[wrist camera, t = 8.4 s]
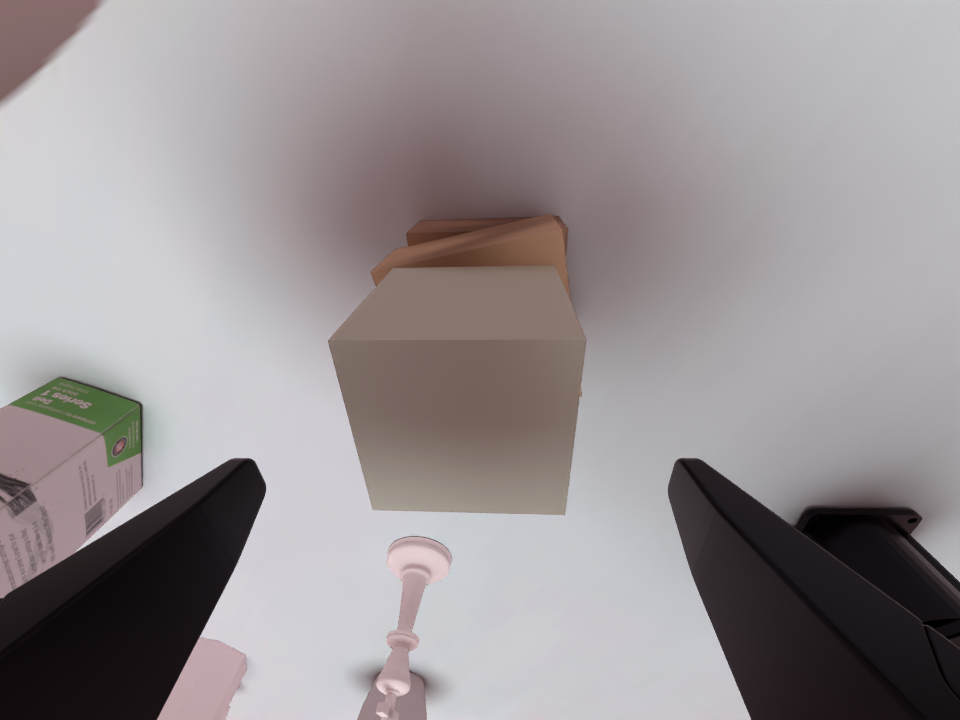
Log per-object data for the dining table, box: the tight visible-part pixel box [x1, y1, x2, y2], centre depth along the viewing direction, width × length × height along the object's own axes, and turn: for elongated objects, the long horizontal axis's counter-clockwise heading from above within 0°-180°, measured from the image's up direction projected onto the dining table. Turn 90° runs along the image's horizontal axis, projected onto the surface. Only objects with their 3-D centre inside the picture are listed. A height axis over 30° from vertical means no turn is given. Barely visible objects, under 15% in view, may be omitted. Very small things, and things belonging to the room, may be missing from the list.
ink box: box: [0, 378, 142, 598], centre depth 19 cm, size 9×5×12 cm, turn 155°
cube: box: [328, 265, 586, 515], centre depth 11 cm, size 5×5×5 cm
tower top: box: [371, 214, 582, 396], centre depth 14 cm, size 6×6×3 cm
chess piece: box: [376, 537, 451, 720], centre depth 24 cm, size 5×5×10 cm
